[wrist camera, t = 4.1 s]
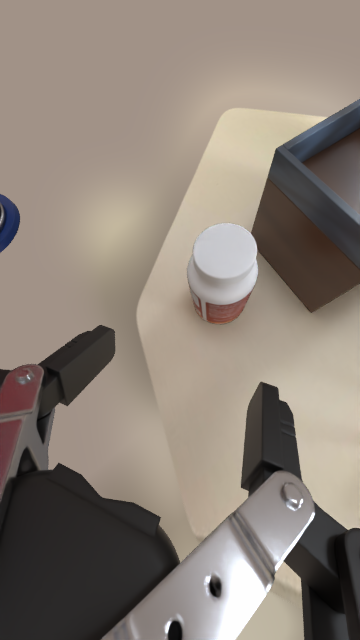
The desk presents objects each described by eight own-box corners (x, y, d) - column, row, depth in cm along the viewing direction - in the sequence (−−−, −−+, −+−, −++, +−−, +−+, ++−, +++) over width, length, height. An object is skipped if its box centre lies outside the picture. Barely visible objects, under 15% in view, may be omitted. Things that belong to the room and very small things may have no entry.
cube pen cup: (311, 313, 24) (397, 260, 13) (248, 239, 27) (275, 148, 16) (398, 259, 24) (555, 163, 13) (325, 193, 28) (402, 72, 17)
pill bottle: (253, 292, 26) (285, 233, 15) (228, 334, 25) (242, 304, 14) (209, 270, 27) (209, 202, 16) (183, 309, 26) (167, 264, 16)
